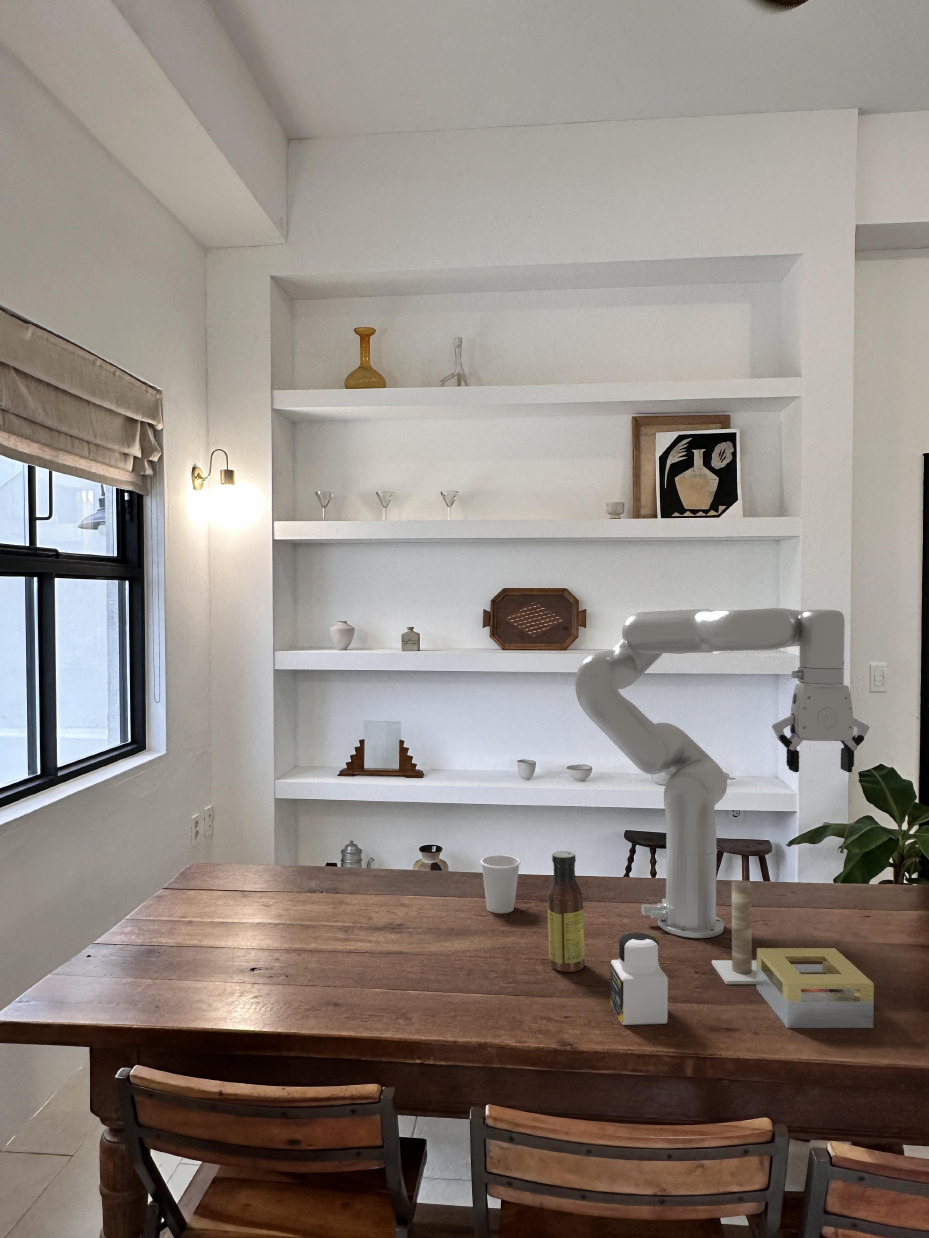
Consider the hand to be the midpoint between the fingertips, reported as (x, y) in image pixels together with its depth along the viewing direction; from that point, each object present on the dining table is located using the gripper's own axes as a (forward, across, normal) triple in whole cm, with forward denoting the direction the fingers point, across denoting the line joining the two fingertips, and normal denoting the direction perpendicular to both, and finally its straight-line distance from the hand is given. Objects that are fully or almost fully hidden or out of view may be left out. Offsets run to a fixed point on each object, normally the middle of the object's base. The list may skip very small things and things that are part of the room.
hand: (820, 770), depth 154 cm
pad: (+33, -17, -9) cm, 38 cm away
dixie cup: (+34, -57, +22) cm, 70 cm away
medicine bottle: (+34, -38, -23) cm, 56 cm away
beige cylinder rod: (+33, -17, -9) cm, 38 cm away
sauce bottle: (+34, -47, -6) cm, 58 cm away
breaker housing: (+33, -10, -21) cm, 41 cm away
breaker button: (+33, -10, -21) cm, 40 cm away
